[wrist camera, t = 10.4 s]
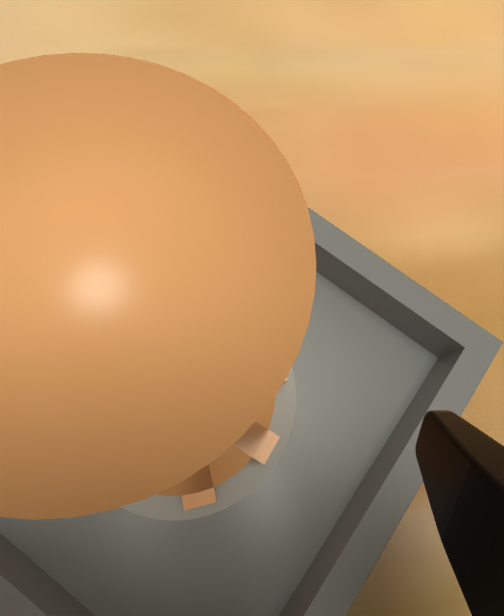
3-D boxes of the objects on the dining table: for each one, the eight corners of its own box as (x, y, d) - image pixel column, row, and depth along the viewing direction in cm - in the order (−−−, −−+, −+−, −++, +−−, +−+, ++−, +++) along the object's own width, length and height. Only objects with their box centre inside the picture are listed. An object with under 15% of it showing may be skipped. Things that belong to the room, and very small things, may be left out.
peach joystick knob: (316, 364, 17) (572, 159, 5) (211, 547, 15) (184, 1009, 3) (156, 266, 18) (15, -140, 5) (35, 429, 16) (-627, 380, 3)
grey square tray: (459, 357, 19) (502, 342, 16) (220, 754, 15) (221, 831, 12) (156, 144, 21) (146, 95, 18) (-136, 441, 16) (-211, 441, 14)
